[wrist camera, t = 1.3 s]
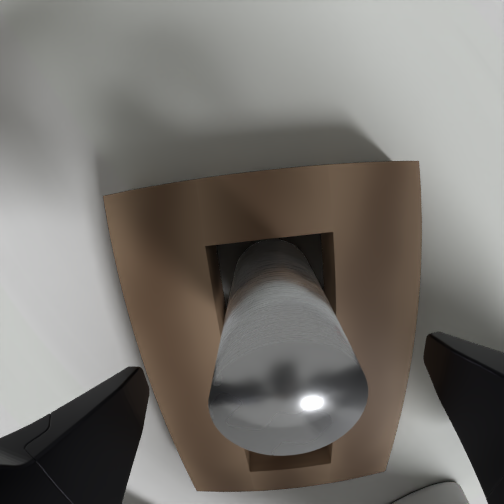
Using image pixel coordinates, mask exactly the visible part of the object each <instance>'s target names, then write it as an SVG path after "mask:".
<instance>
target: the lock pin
mask: <svg viewBox="0 0 504 504" xmlns="http://www.w3.org/2000/svg"><path fill="white" fill-rule="evenodd" d="M367 399H368V384H367V380H366V377H365V374H364V372H363V370H362V368H361V366H360V364H359V362H358V360H357V358H356V355H355V353H354V351H353V349H352V347H351V345H350V343H349V341H348V339H347V337H346V335H345V333H344V331H343V329H342V327H341V325H340V323H339V321H338V319H337V317H336V315H335V313H334V311H333V309H332V307H331V305H330V303H329V301H328V299H327V297H326V295H325V293H324V291H323V289H322V288H321V286H320V284H319V282H318V280H317V278H316V276H315V274H314V272H313V270H312V268H311V266H310V265H309V263H308V261H307V259H306V257H305V256H304V254H303V253H302V252H301V250H299V249H298V248H297V247H296V246H294V245H293V244H291V243H289V242H287V241H284V240H279V239H267V240H262V241H259V242H257V243H255V244H253V245H251V246H250V247H249V248H247V249H246V250H245V251H244V252H243V253H242V255H241V256H240V258H239V260H238V262H237V264H236V268H235V272H234V277H233V282H232V287H231V291H230V296H229V301H228V306H227V310H226V315H225V320H224V325H223V330H222V334H221V339H220V344H219V349H218V354H217V359H216V364H215V369H214V374H213V379H212V384H211V389H210V394H209V399H208V408H209V413H210V416H211V419H212V421H213V423H214V425H215V426H216V428H217V429H218V430H219V431H220V433H221V434H222V435H223V436H225V437H226V438H227V439H228V440H230V441H231V442H232V443H234V444H236V445H238V446H239V447H242V448H244V449H246V450H249V451H252V452H256V453H260V454H265V455H274V456H286V455H296V454H303V453H307V452H311V451H314V450H317V449H320V448H322V447H324V446H327V445H329V444H331V443H332V442H334V441H336V440H337V439H339V438H340V437H342V436H343V435H344V434H346V433H347V432H348V431H349V430H350V429H351V428H352V427H353V426H354V425H355V424H356V422H357V421H358V420H359V418H360V417H361V415H362V413H363V411H364V409H365V406H366V404H367Z"/></svg>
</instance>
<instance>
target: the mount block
mask: <svg viewBox="0 0 504 504" xmlns="http://www.w3.org/2000/svg"><path fill="white" fill-rule="evenodd" d="M103 199H104V205H105V211H106V217H107V222H108V228H109V233H110V238H111V243H112V248H113V253H114V257H115V262H116V266H117V271H118V275H119V279H120V283H121V287H122V291H123V295H124V299H125V303H126V307H127V310H128V314H129V317H130V321H131V324H132V328H133V331H134V335H135V338H136V341H137V344H138V348H139V351H140V354H141V357H142V360H143V363H144V366H145V369H146V372H147V375H148V378H149V381H150V383H151V386H152V389H153V392H154V394H155V397H156V400H157V402H158V405H159V408H160V410H161V413H162V415H163V418H164V420H165V423H166V425H167V427H168V430H169V432H170V435H171V437H172V439H173V442H174V444H175V446H176V448H177V451H178V453H179V455H180V457H181V460H182V462H183V464H184V466H185V468H186V470H187V472H188V474H189V476H190V478H191V480H192V483H193V485H194V487H195V488H196V490H197V491H212V492H241V491H264V490H278V489H289V488H298V487H306V486H314V485H321V484H327V483H333V482H339V481H344V480H349V479H354V478H359V477H363V476H367V475H372V474H376V473H380V472H384V471H385V470H386V466H387V463H388V460H389V457H390V453H391V450H392V446H393V443H394V439H395V435H396V431H397V427H398V423H399V419H400V415H401V411H402V406H403V402H404V397H405V392H406V387H407V382H408V377H409V371H410V365H411V359H412V352H413V346H414V338H415V330H416V322H417V312H418V302H419V289H420V273H421V246H422V212H421V185H420V169H419V161H383V162H360V163H342V164H328V165H314V166H302V167H291V168H281V169H271V170H262V171H253V172H244V173H236V174H229V175H221V176H214V177H207V178H200V179H193V180H187V181H180V182H174V183H168V184H162V185H156V186H151V187H145V188H140V189H134V190H129V191H124V192H120V193H115V194H110V195H106V196H103ZM318 233H321V245H322V262H323V281H324V293H325V295H326V297H327V299H328V301H329V303H330V305H331V307H332V309H333V311H334V313H335V315H336V317H337V319H338V321H339V323H340V325H341V327H342V329H343V331H344V333H345V335H346V337H347V339H348V341H349V343H350V345H351V347H352V349H353V351H354V353H355V355H356V358H357V360H358V362H359V364H360V366H361V368H362V370H363V372H364V374H365V377H366V380H367V384H368V399H367V404H366V406H365V409H364V411H363V413H362V415H361V417H360V418H359V420H358V421H357V422H356V424H355V425H354V426H353V427H352V428H351V429H350V430H349V431H348V432H347V433H346V434H344V435H343V436H342V437H340V438H339V439H337V440H336V441H334V442H332V443H331V444H329V445H327V446H324V447H322V448H320V449H317V450H314V451H311V452H307V453H303V454H296V455H286V456H274V455H265V454H260V453H256V452H252V451H249V450H246V449H244V448H242V447H239V446H238V445H236V444H234V443H232V442H231V441H230V440H228V439H227V438H226V437H225V436H223V435H222V434H221V433H220V431H219V430H218V429H217V428H216V426H215V425H214V423H213V421H212V419H211V416H210V413H209V408H208V399H209V394H210V389H211V384H212V379H213V374H214V369H215V364H216V359H217V354H218V349H219V344H220V339H221V334H222V330H223V325H224V320H225V315H226V304H225V298H224V292H223V286H222V280H221V273H220V267H219V260H218V254H217V247H216V245H219V244H227V243H236V242H245V241H254V240H263V239H272V238H281V237H290V236H299V235H309V234H318Z"/></svg>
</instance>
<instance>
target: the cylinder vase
mask: <svg viewBox="0 0 504 504" xmlns="http://www.w3.org/2000/svg"><path fill="white" fill-rule="evenodd" d="M392 504H469V502H468V500H467V498H466V496H465V494H464V492H463V490H462V488H461V486H460V485H459V484H457V483H455V482H444V483H439V484H435V485H431V486H428V487H426V488H423V489H420V490H418V491H416V492H413V493H411V494H409V495H407V496H405V497H403V498H401V499H399V500H397V501H396V502H394V503H392Z"/></svg>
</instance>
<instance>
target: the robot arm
mask: <svg viewBox="0 0 504 504" xmlns="http://www.w3.org/2000/svg"><path fill="white" fill-rule="evenodd" d="M424 363H425V365H426V368H427V370H428V373H429V375H430V378H431V380H432V383H433V385H434V388H435V390H436V393H437V395H438V397H439V399H440V401H441V403H442V405H443V407H444V409H445V411H446V413H447V415H448V417H449V419H450V421H451V423H452V425H453V427H454V429H455V431H456V433H457V435H458V437H459V439H460V441H461V443H462V445H463V447H464V449H465V451H466V453H467V456H468V458H469V460H470V462H471V464H472V466H473V469H474V471H475V473H476V475H477V478H478V480H479V482H480V485H481V487H482V489H483V492H484V494H485V497H486V500H487V502H488V504H504V353H503V352H500V351H496V350H493V349H490V348H487V347H484V346H481V345H478V344H475V343H472V342H469V341H466V340H463V339H460V338H457V337H454V336H451V335H448V334H445V333H442V332H435V333H431V334H429V335H428V336H427V338H426V344H425V350H424ZM148 398H149V386H148V383H147V381H146V378H145V375H144V372H143V370H142V368H140V367H127V368H126V369H124V370H122V371H121V372H119V373H117V374H116V375H114V376H112V377H111V378H109V379H107V380H106V381H104V382H102V383H101V384H99V385H97V386H96V387H94V388H92V389H91V390H89V391H87V392H86V393H84V394H82V395H81V396H79V397H77V398H75V399H74V400H72V401H70V402H69V403H67V404H65V405H64V406H62V407H60V408H58V409H57V410H55V411H53V412H51V414H48V415H46V416H44V417H43V418H41V419H39V420H37V421H35V422H33V423H32V424H30V425H28V426H26V427H24V428H21V429H19V430H17V431H15V432H13V433H11V434H8V435H6V436H4V437H2V438H0V504H122V501H123V497H124V493H125V490H126V486H127V483H128V479H129V476H130V472H131V469H132V465H133V462H134V458H135V455H136V451H137V448H138V445H139V441H140V438H141V435H142V431H143V426H144V420H145V414H146V409H147V404H148Z"/></svg>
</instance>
